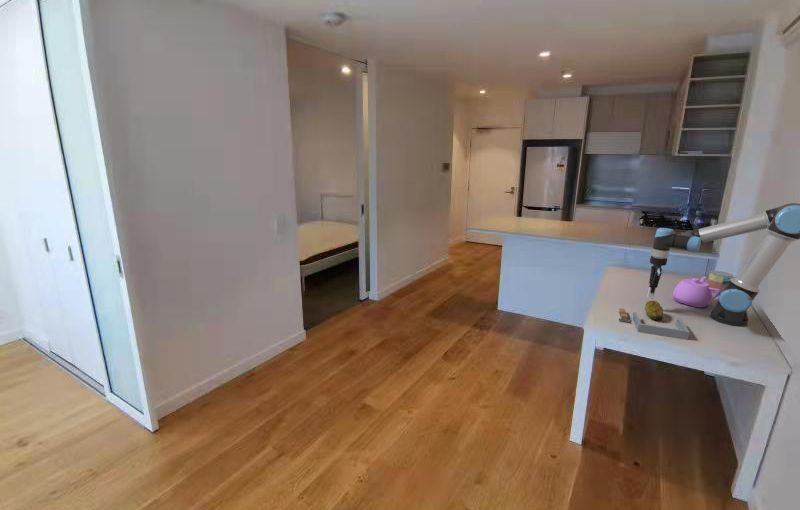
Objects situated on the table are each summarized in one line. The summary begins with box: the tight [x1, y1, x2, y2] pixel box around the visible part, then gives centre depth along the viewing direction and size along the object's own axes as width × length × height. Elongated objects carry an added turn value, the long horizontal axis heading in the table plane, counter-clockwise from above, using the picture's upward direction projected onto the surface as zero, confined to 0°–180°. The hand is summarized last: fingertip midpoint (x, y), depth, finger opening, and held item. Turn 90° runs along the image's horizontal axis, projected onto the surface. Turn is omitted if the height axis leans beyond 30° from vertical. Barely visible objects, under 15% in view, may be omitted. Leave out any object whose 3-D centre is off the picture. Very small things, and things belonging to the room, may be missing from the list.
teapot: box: [672, 275, 720, 308], centre depth 218 cm, size 23×21×15 cm
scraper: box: [618, 307, 631, 324], centre depth 199 cm, size 14×5×2 cm, turn 157°
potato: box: [644, 300, 664, 322], centre depth 199 cm, size 8×13×8 cm, turn 147°
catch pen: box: [632, 311, 691, 341], centre depth 186 cm, size 20×16×4 cm
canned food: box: [706, 270, 734, 294], centre depth 237 cm, size 11×11×12 cm
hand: (650, 297), depth 207 cm, fingers closed
